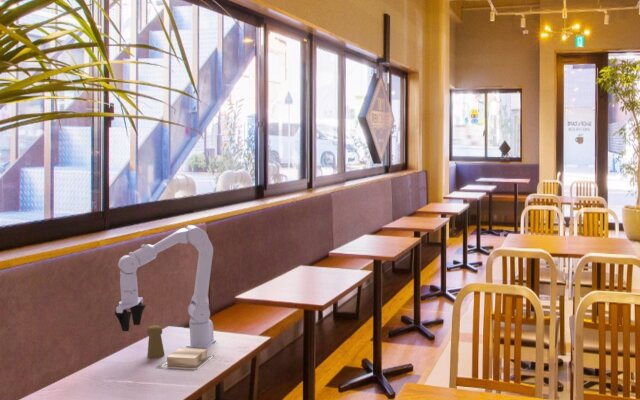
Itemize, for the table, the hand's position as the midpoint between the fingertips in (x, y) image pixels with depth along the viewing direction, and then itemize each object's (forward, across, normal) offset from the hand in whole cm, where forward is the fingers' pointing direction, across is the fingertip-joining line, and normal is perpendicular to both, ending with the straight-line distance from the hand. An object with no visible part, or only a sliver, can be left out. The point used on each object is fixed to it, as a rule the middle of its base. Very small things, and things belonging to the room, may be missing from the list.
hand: (131, 327), depth 236 cm
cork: (+10, 0, +9) cm, 14 cm away
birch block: (+10, +4, +23) cm, 25 cm away
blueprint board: (+10, +4, +22) cm, 24 cm away
